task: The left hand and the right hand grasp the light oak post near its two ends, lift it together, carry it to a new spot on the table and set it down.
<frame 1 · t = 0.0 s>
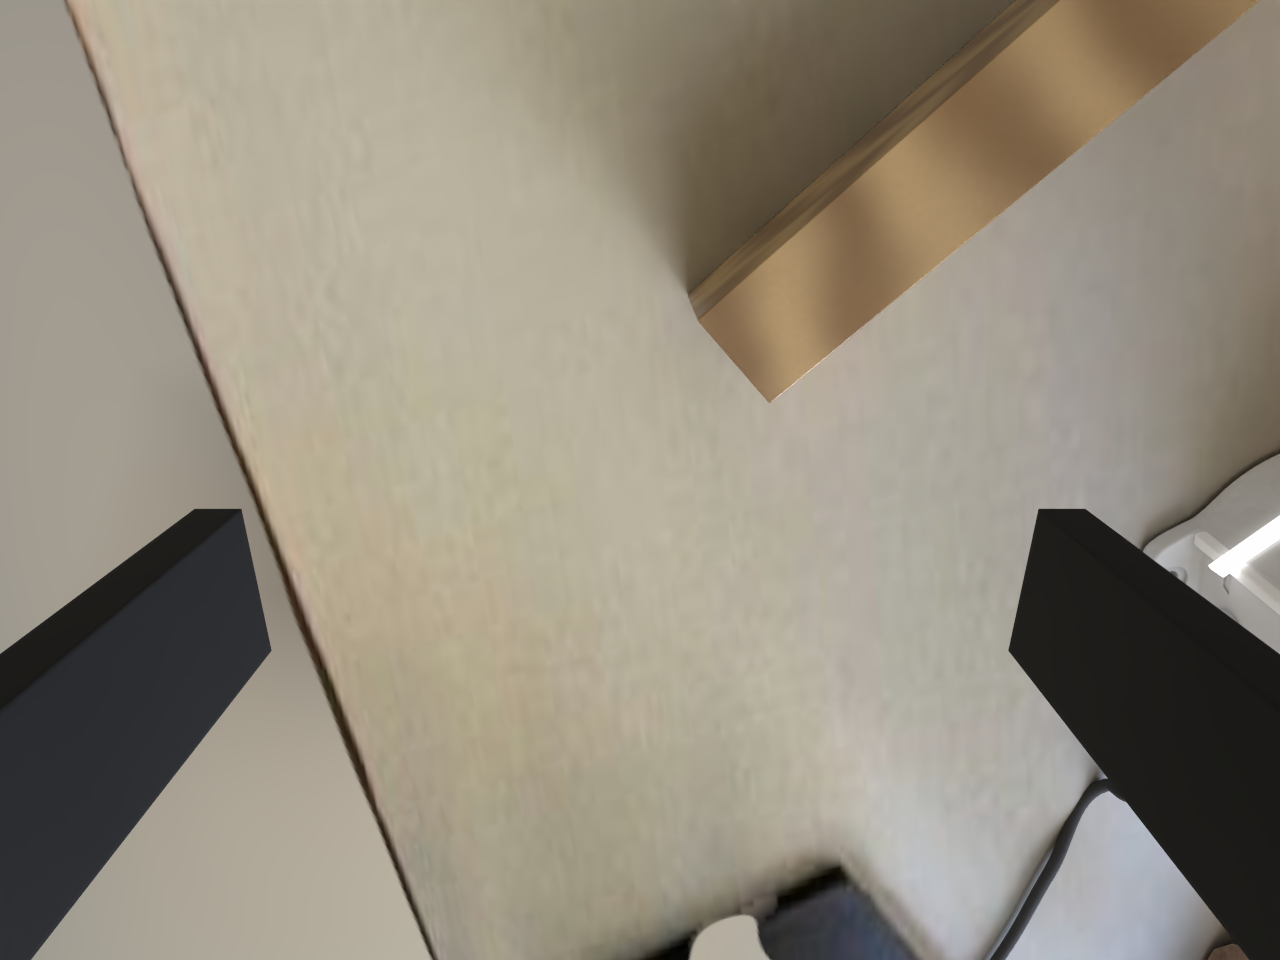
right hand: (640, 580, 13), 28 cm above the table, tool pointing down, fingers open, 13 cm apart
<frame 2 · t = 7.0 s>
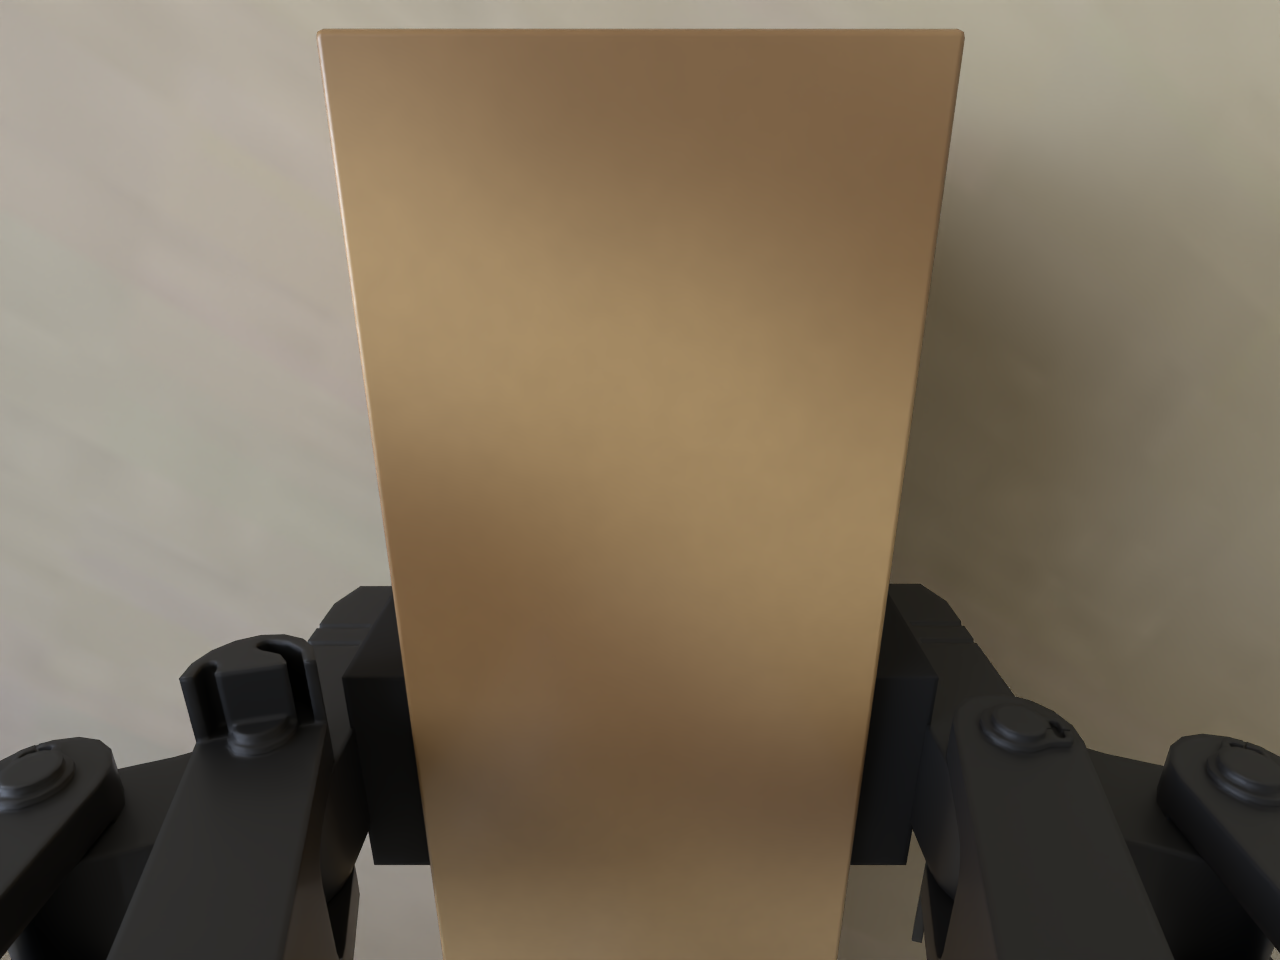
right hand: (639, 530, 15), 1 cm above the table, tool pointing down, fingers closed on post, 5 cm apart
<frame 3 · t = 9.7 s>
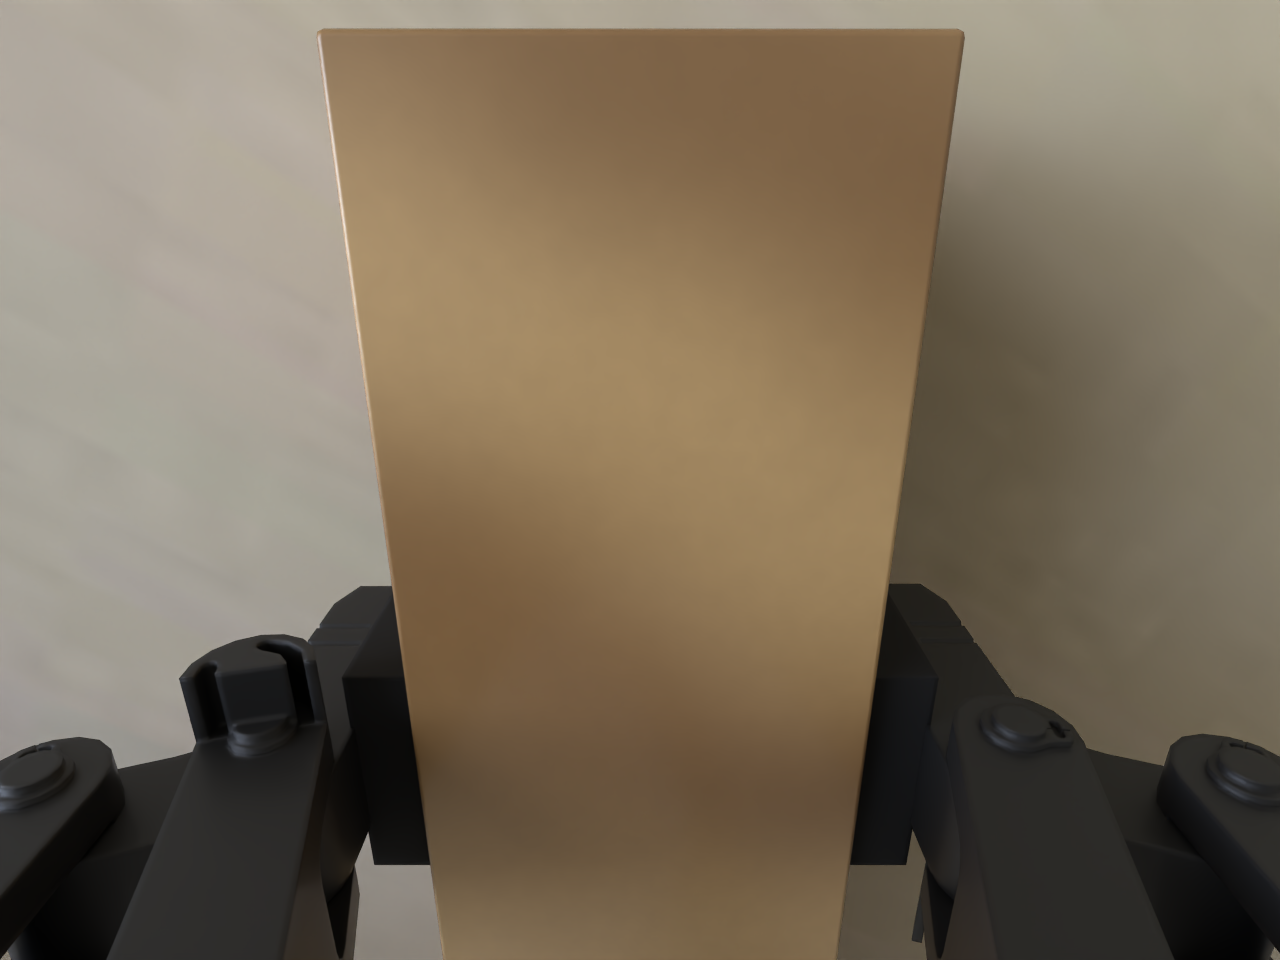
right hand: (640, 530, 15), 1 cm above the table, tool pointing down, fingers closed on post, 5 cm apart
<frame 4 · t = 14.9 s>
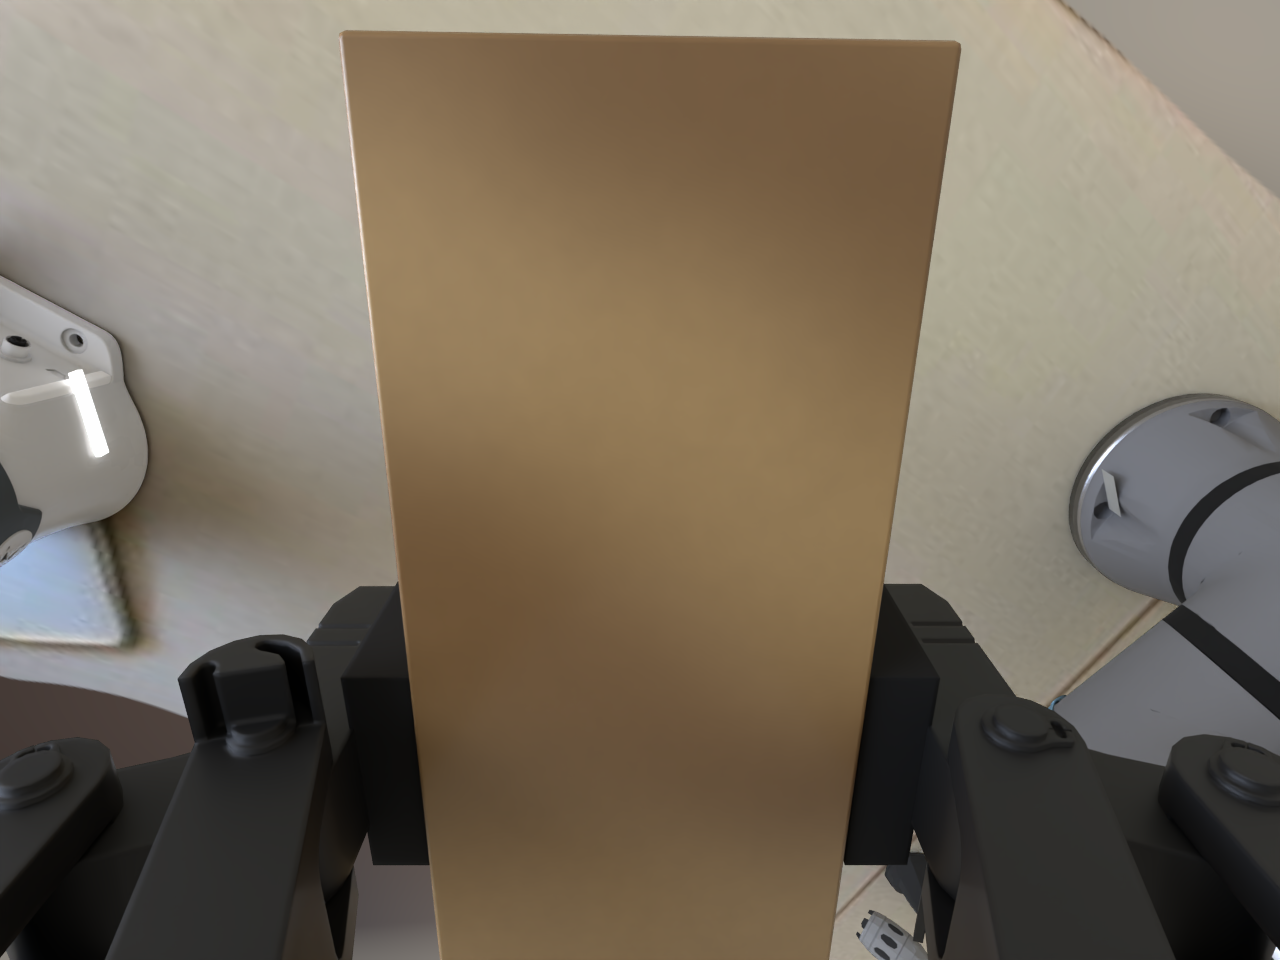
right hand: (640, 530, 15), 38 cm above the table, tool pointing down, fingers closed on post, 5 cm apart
robot: (926, 873, 71), on the table
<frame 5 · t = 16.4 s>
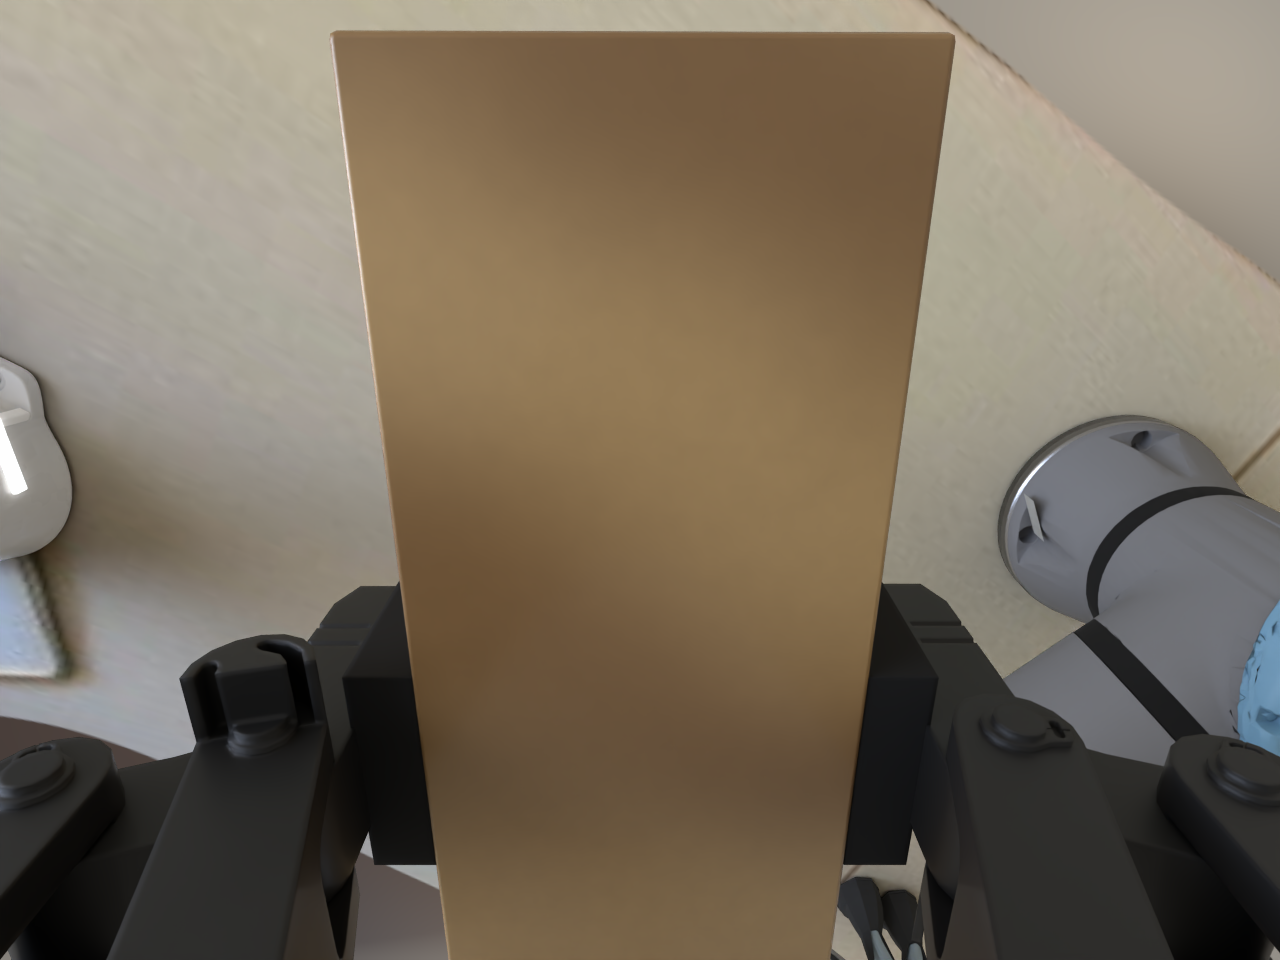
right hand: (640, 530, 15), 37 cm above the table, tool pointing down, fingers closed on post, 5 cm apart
robot: (875, 897, 70), on the table
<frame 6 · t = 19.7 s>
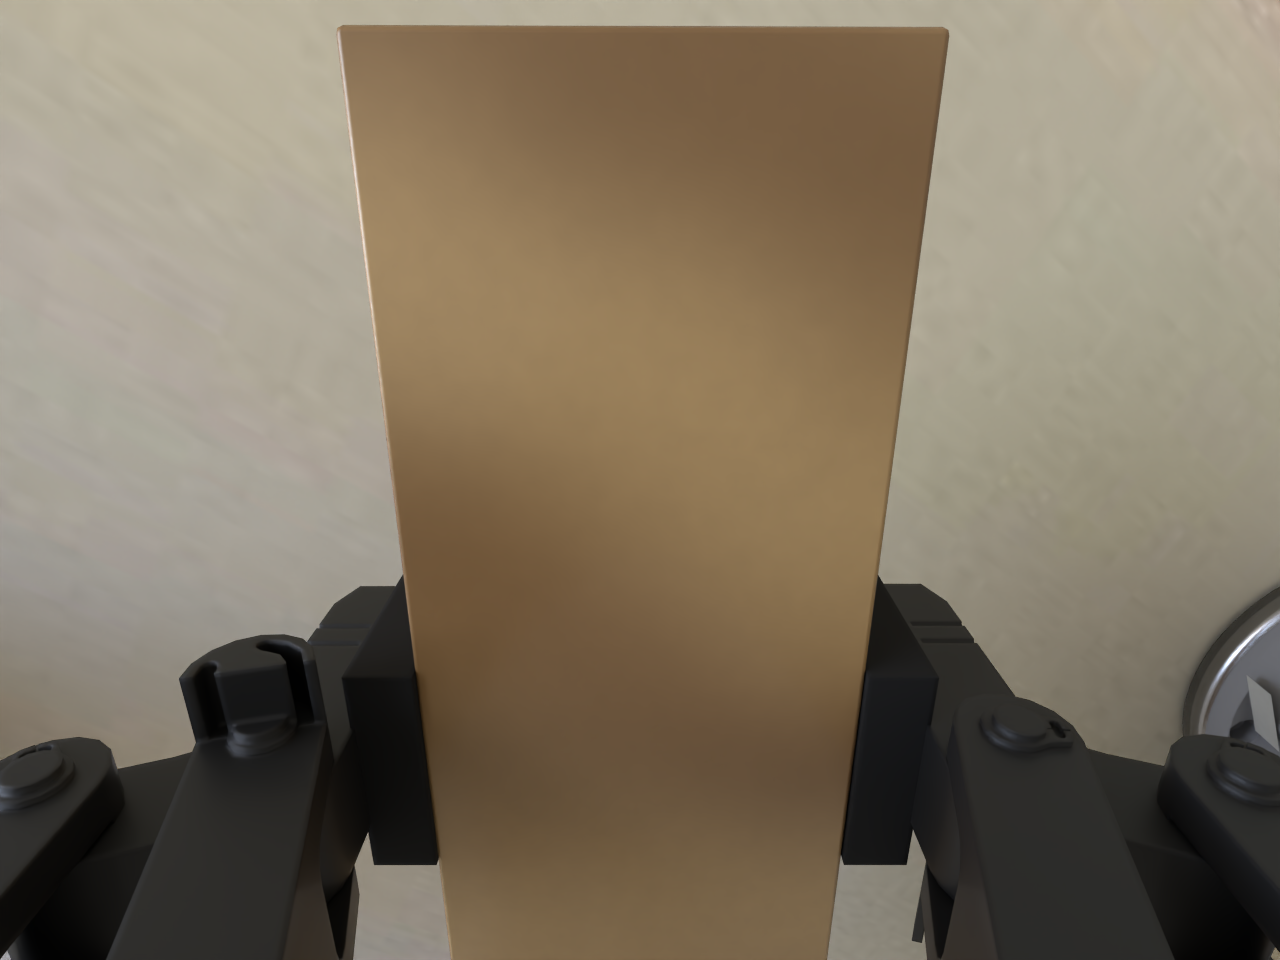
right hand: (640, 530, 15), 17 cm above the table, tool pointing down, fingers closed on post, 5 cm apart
when the left hand's fingers open (4 cm above the table, at t = 23.1 s): post drops 1 cm, on the table.
when the right hand's fingers open (2 cm above the table, at t = 23.1 s): post drops 1 cm, on the table.
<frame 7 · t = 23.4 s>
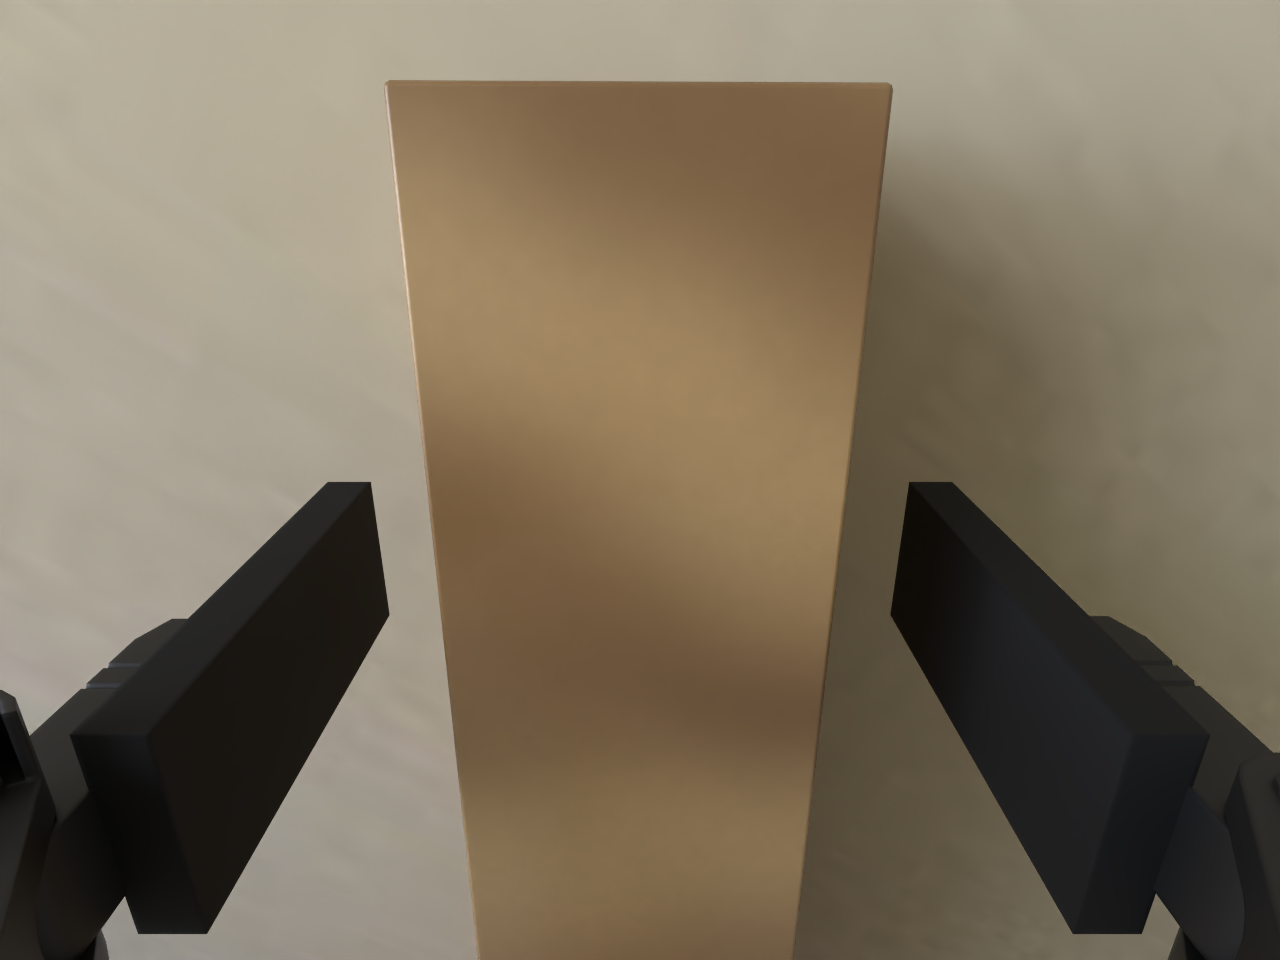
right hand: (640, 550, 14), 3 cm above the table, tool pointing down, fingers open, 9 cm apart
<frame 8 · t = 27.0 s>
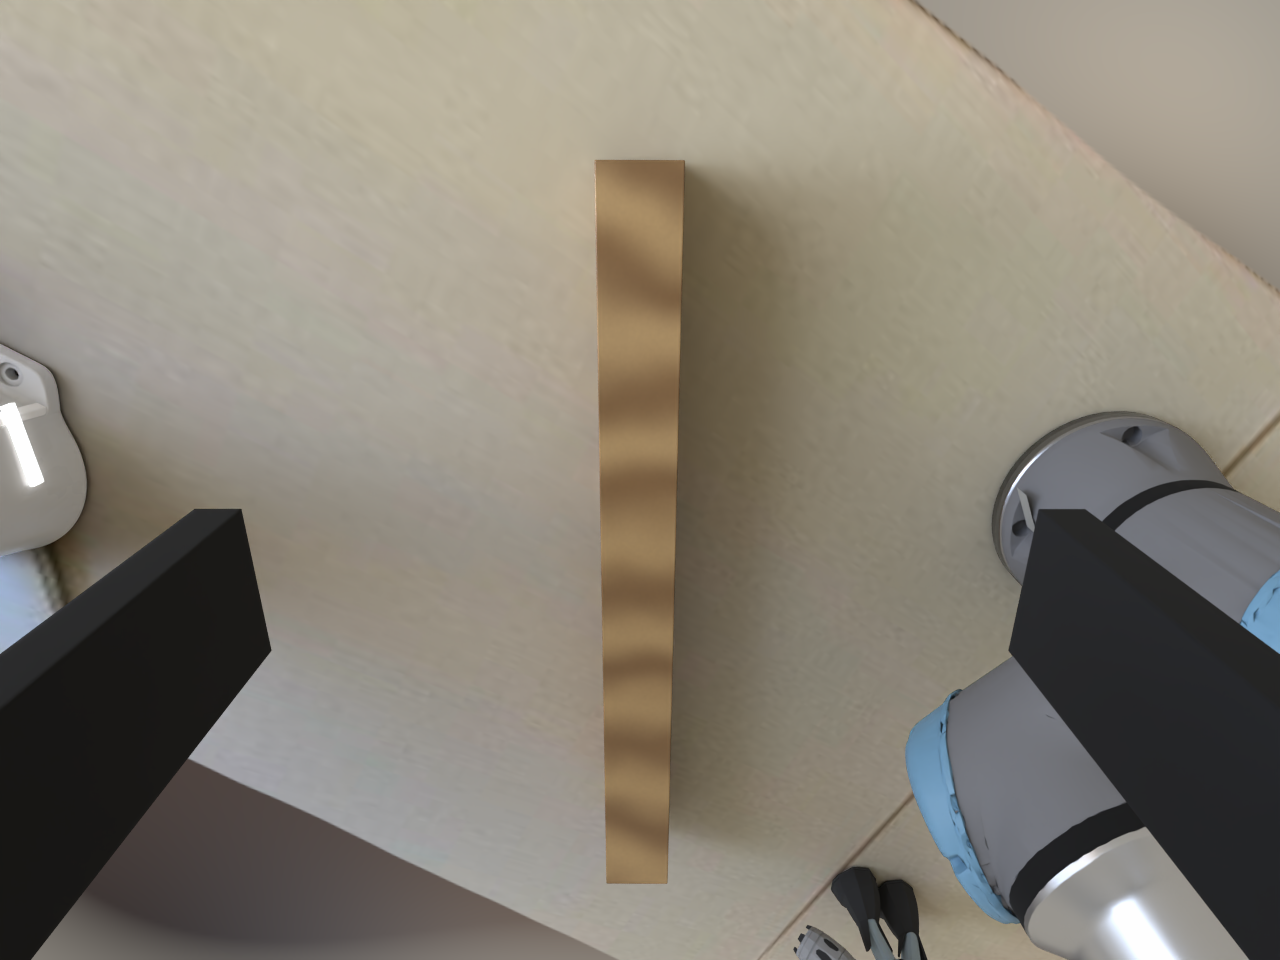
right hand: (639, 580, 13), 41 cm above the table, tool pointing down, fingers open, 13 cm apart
post: (638, 544, 58), on the table
robot: (872, 887, 71), on the table
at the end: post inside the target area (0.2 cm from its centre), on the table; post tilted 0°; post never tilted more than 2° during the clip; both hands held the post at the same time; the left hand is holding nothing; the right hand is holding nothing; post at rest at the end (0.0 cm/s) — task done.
